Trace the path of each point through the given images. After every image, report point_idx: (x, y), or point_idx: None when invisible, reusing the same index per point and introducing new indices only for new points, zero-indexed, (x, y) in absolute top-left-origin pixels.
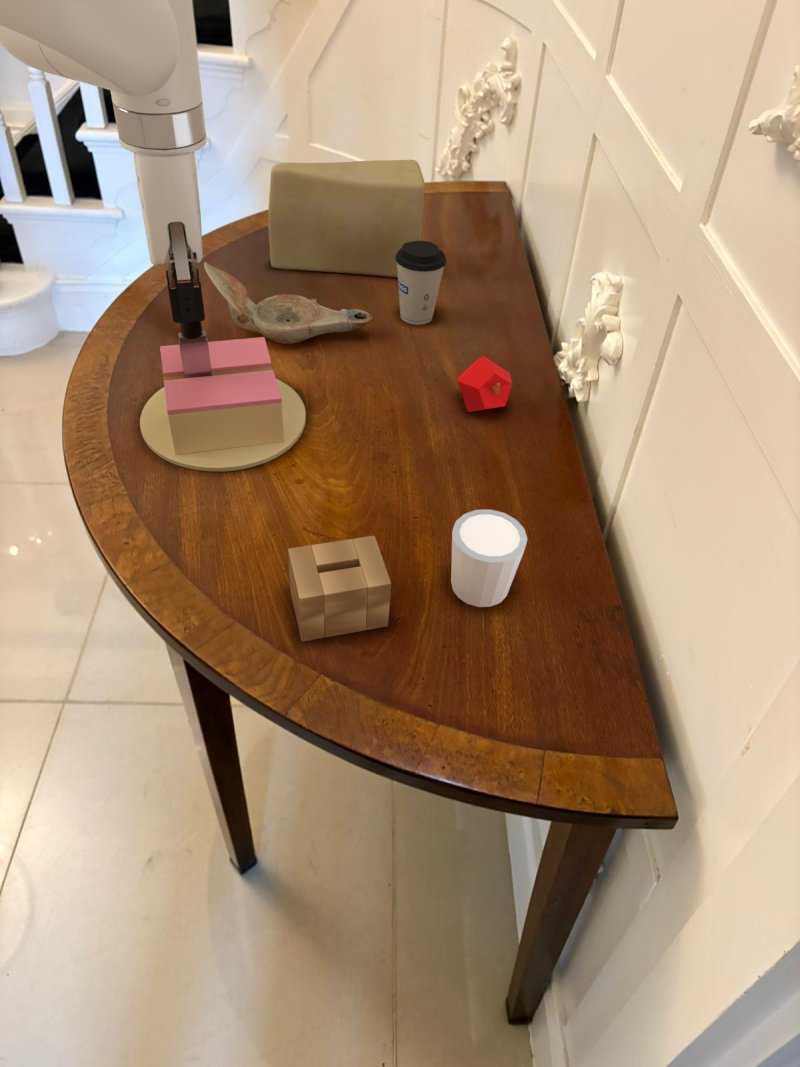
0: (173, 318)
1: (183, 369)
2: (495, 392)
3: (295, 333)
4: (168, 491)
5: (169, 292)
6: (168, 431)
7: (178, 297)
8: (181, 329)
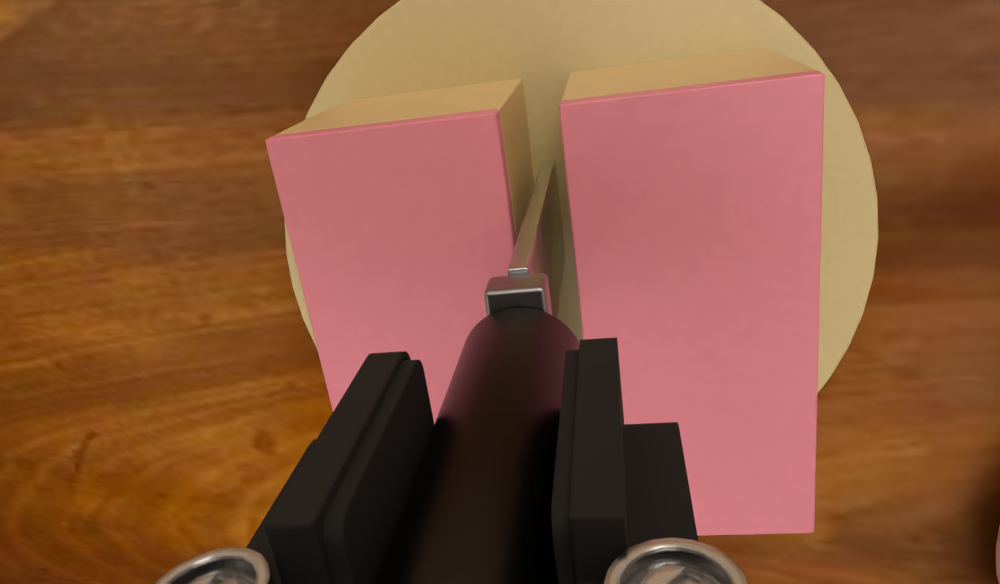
0: (366, 365)
1: (524, 217)
2: None
3: (996, 563)
4: (191, 80)
5: (291, 493)
6: (479, 67)
7: (251, 542)
8: (485, 333)
